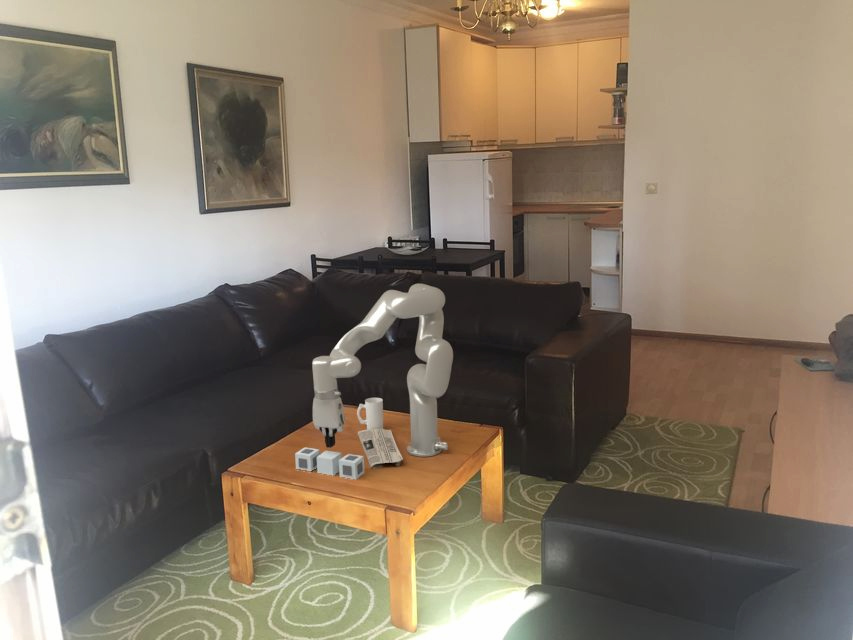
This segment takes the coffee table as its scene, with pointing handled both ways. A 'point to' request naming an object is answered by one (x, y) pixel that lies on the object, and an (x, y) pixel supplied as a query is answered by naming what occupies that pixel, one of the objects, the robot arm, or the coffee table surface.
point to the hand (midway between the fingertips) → (330, 446)
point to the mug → (372, 413)
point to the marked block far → (307, 459)
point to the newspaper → (379, 447)
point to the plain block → (328, 462)
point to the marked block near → (351, 466)
